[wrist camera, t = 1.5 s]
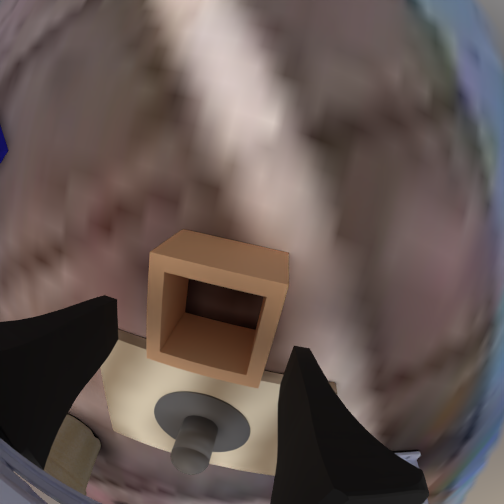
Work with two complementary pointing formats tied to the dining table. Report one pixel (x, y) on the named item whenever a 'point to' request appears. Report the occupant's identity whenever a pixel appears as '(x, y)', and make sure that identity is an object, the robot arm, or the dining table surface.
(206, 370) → the collar
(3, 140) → the cable clip
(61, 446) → the flower pot
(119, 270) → the dining table surface
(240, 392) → the post plate
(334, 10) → the dining table surface
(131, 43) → the dining table surface
